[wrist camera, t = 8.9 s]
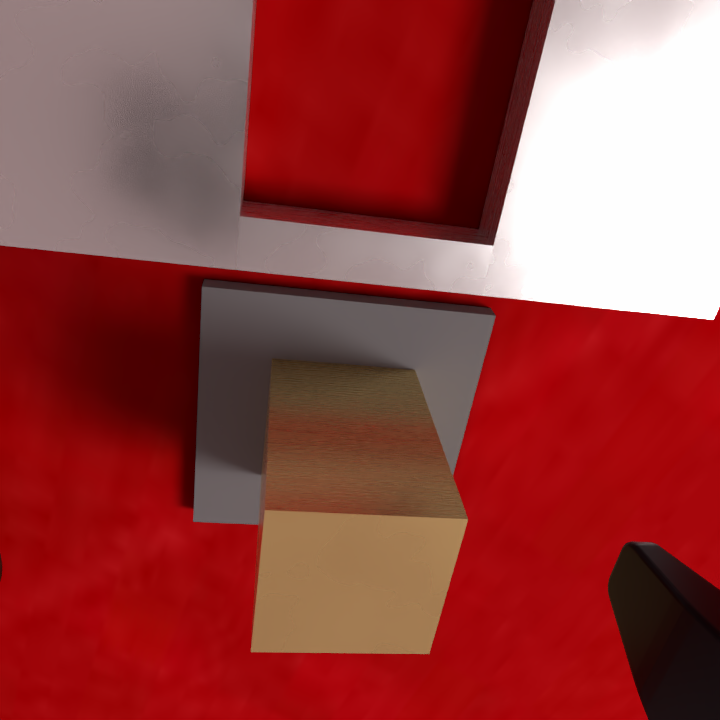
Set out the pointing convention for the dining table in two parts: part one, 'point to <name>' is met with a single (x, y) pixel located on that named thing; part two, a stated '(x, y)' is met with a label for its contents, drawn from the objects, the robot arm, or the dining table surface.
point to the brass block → (352, 513)
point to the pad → (316, 344)
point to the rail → (361, 232)
